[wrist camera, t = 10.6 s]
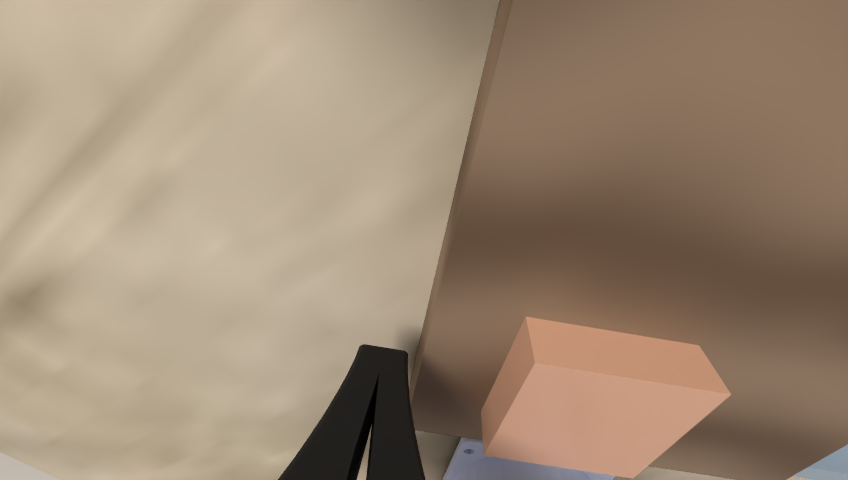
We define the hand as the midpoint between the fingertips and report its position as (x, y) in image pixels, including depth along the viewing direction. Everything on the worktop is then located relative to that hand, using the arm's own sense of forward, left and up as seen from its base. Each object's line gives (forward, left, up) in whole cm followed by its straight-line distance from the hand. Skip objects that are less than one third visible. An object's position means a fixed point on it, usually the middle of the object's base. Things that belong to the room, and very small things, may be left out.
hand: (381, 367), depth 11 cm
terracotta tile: (0, -6, -1) cm, 6 cm away
